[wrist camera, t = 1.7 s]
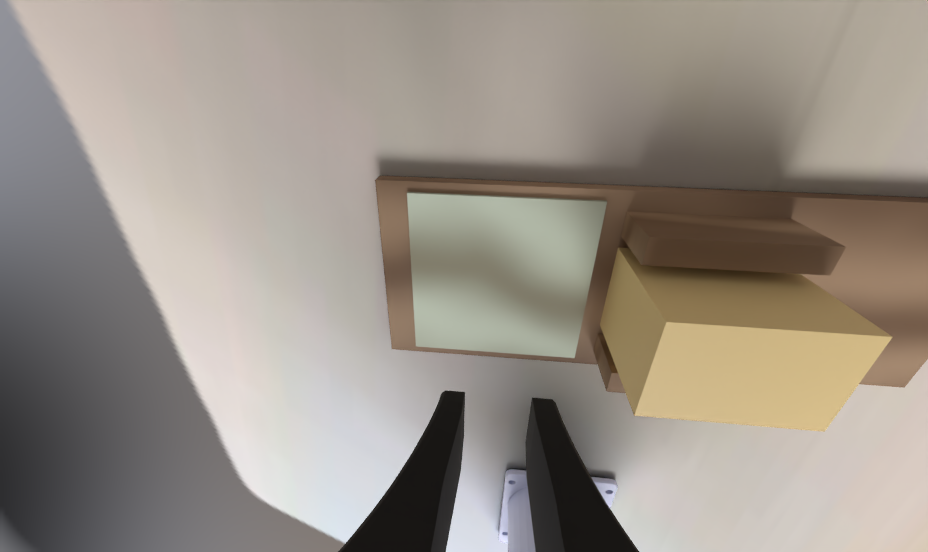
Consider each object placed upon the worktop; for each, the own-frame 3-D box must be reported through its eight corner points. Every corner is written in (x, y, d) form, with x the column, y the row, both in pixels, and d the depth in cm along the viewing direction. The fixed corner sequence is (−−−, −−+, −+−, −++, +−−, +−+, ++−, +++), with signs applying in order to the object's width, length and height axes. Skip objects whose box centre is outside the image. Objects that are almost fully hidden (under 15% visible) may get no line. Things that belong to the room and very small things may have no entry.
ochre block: (737, 333, 19) (824, 431, 14) (599, 324, 20) (634, 415, 15) (774, 255, 17) (892, 337, 12) (618, 247, 18) (666, 322, 12)
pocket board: (890, 376, 21) (964, 435, 17) (395, 340, 23) (377, 386, 19) (1025, 201, 16) (1163, 236, 12) (380, 175, 18) (352, 199, 15)
